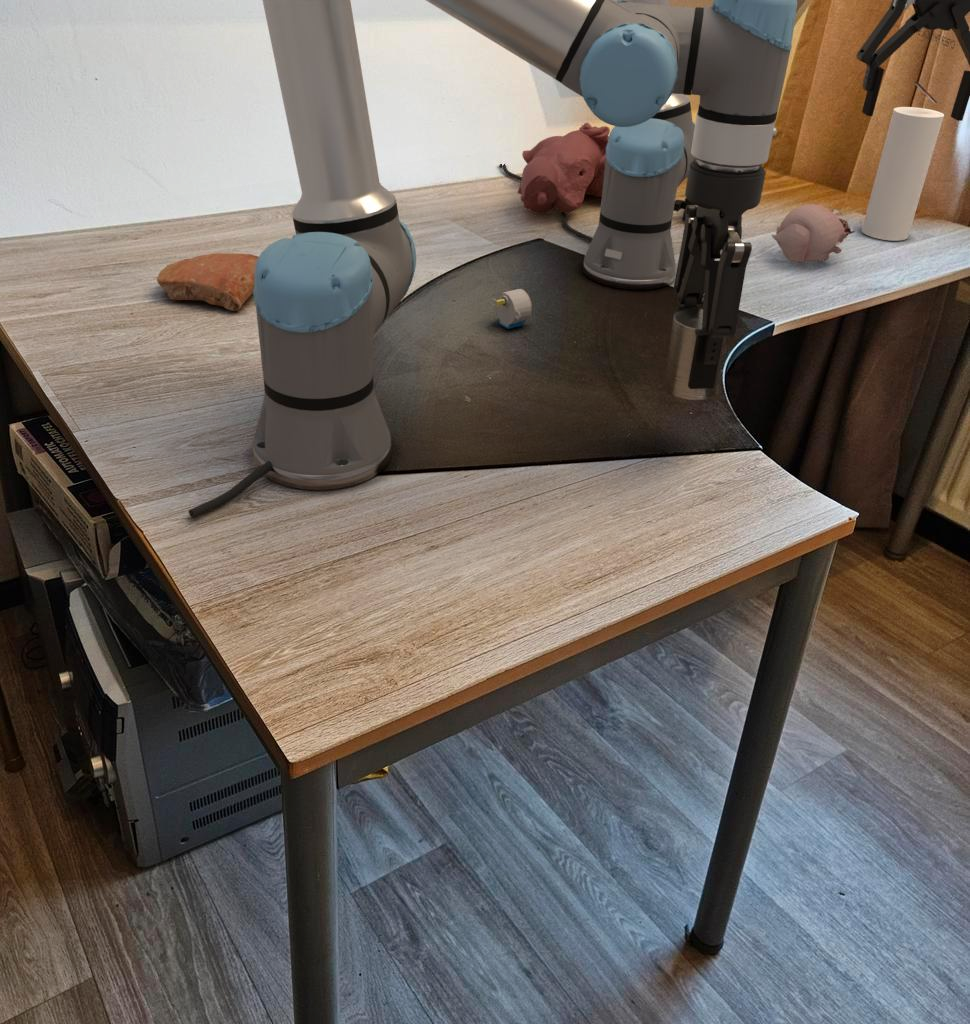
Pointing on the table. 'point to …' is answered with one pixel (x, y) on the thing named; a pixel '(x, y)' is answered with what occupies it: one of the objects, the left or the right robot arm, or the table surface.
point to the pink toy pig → (564, 170)
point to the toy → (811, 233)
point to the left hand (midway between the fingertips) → (691, 373)
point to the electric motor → (512, 308)
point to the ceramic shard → (211, 279)
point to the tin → (685, 356)
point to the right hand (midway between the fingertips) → (911, 116)
